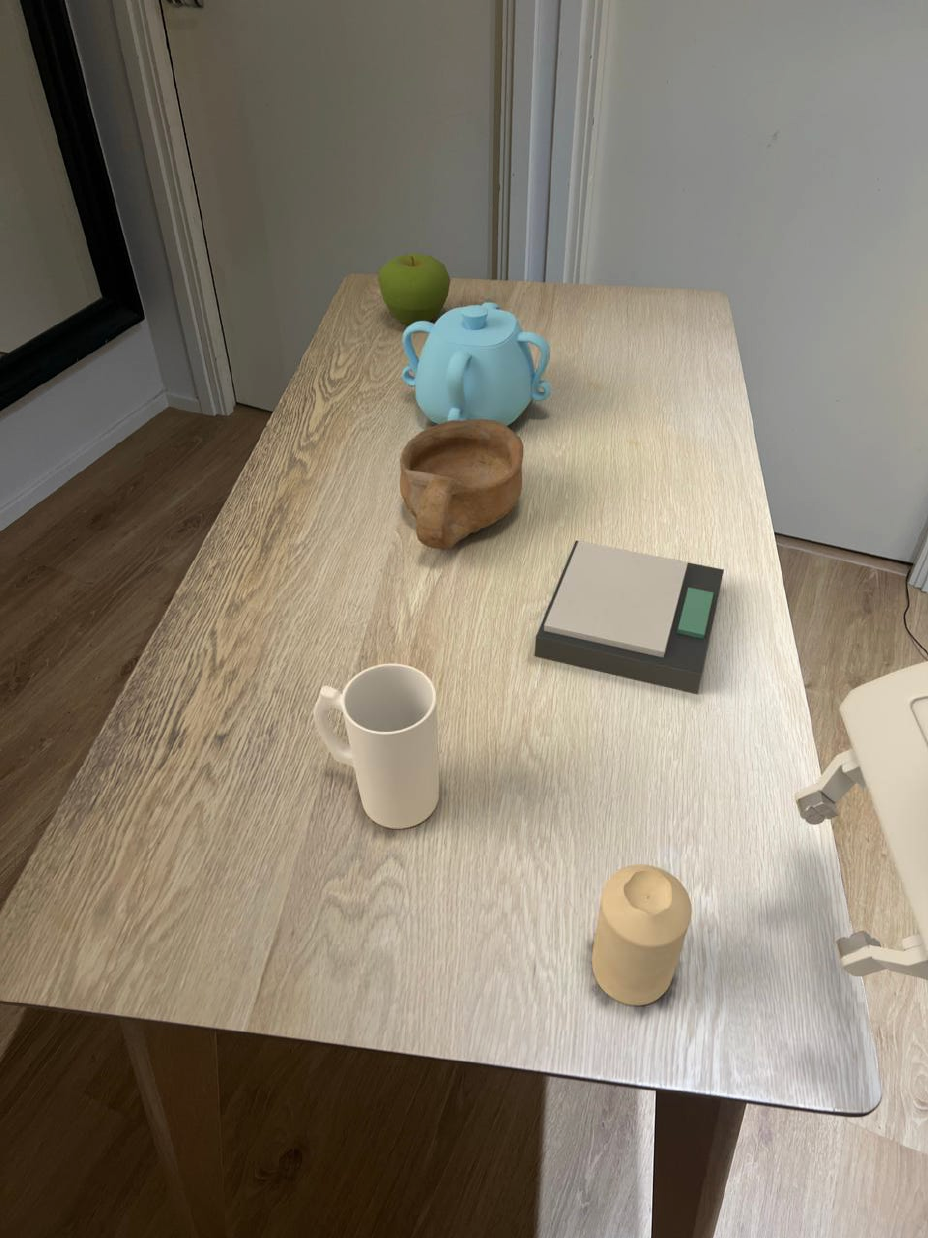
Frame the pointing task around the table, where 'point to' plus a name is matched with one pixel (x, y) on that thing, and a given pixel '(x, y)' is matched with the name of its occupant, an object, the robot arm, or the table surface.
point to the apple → (414, 287)
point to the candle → (640, 933)
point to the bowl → (460, 478)
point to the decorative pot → (475, 366)
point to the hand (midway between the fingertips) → (821, 880)
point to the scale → (632, 616)
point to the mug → (387, 741)
